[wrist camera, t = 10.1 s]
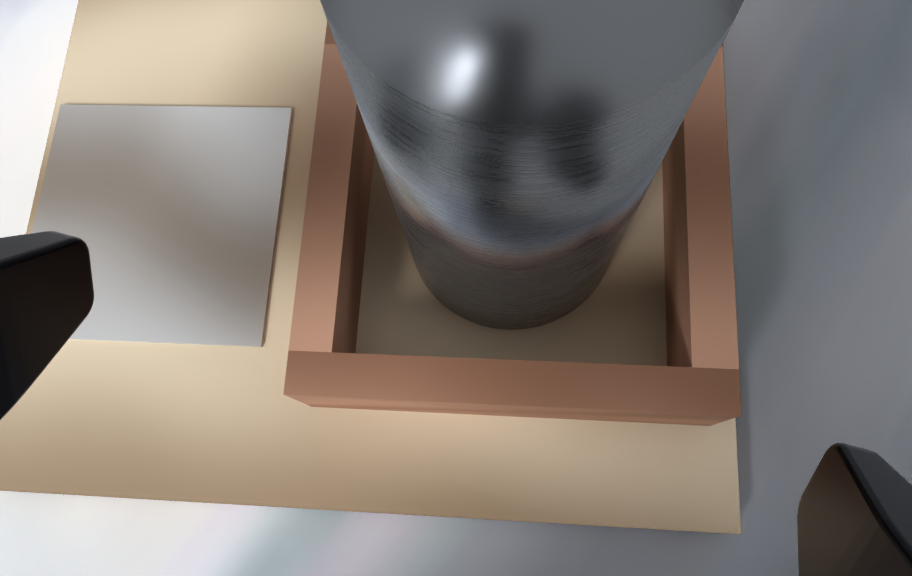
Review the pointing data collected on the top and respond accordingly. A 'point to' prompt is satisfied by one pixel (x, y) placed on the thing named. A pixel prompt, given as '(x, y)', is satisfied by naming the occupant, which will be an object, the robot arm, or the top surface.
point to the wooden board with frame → (351, 305)
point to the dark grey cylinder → (522, 133)
